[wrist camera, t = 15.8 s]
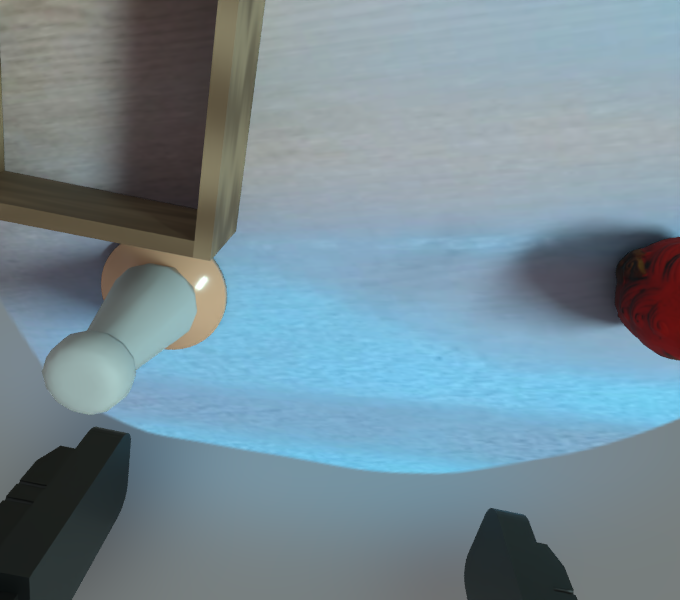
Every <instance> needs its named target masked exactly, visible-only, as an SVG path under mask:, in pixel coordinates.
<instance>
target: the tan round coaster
mask: <svg viewBox="0 0 680 600" xmlns="http://www.w3.org/2000/svg"><path fill="white" fill-rule="evenodd" d="M149 263H153V264H157V265H162V266H167V267H173V268H176V269H177V270H178V271H179V272H180V273H181V275H182V276H183V277H184V278H185V279H186V280H187V281H188V282H189V283H190V284H191V285H192V286H193V288H194V292H195V297H196V306H197V313H196V315H195V318H194V321H193V323H192V326H191V328H190V330H189V331H188V332H187V333H186V334H184V335H183V336H182V337H180V338H179V339H178V340H177V341H175V342H174V343H172V344H171V345H169V346H168V347H166V348H165V349H172V350H175V349H183V348H187V347H191V346H193V345H196V344H198V343H200V342H202V341H203V340H205V339H206V338H207V337H209V336H210V335H211V334H212V333H213V332H214V330H215V329H216V328H217V326H218V325H219V323H220V321H221V319H222V317H223V315H224V312H225V309H226V304H227V287H226V283H225V279H224V276H223V274H222V272H221V270H220V268H219V266H218V264H217V263H216V261H215V260H214V258H212V259H211V261H207V260H202V259H197V258H192V257H187V256H182V255H176V254H171V253H166V252H161V251H156V250H151V249H146V248H141V247H136V246H130V245H125V244H120V245H119V246H118V247H116V248H115V249H114V251H113V252H112V253H111V254H110V256H109V257H108V259H107V261H106V263H105V265H104V268H103V272H102V278H101V290H102V296H103V300H105V298H106V296H107V295H108V293H109V291H110V289H111V288H112V286H113V284H114V282H115V280H116V279H117V278H119V277H120V276H121V275H122V274H123V273H124V272H125V271H126V270H127V269H128V268H131V267H135V266H139V265H144V264H149Z"/></svg>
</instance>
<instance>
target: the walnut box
mask: <svg viewBox="0 0 680 600" xmlns="http://www.w3.org/2000/svg"><path fill="white" fill-rule="evenodd" d="M264 6H265V0H218V6H217V16H216V26H215V36H214V47H213V57H212V67H211V77H210V87H209V98H208V108H207V118H206V128H205V139H204V149H203V159H202V169H201V179H200V190H199V200H198V209H193V208H188V207H183V206H178V205H173V204H168V203H163V202H158V201H153V200H148V199H143V198H138V197H133V196H128V195H123V194H118V193H113V192H108V191H103V190H98V189H93V188H88V187H83V186H78V185H73V184H68V183H63V182H58V181H53V180H48V179H43V178H38V177H33V176H28V175H23V174H18V173H13V172H8V171H5V166H4V139H3V113H2V87H1V60H0V220H3V221H8V222H13V223H18V224H23V225H28V226H33V227H39V228H44V229H49V230H54V231H59V232H64V233H69V234H74V235H79V236H85V237H90V238H95V239H100V240H105V241H110V242H115V243H120V244H125V245H130V246H136V247H141V248H146V249H151V250H156V251H161V252H166V253H171V254H176V255H182V256H187V257H192V258H197V259H202V260H207V261H211V259H212V258H213V257H214V256H215V255H216V254H217V252H218V251H219V250H220V249H221V248H222V247H223V246H224V244H225V243H226V242H227V241H228V240H229V239H230V237H231V236H232V235H233V234H234V233H235V232H236V226H237V218H238V211H239V203H240V195H241V187H242V179H243V171H244V163H245V155H246V148H247V140H248V132H249V124H250V116H251V108H252V100H253V92H254V85H255V77H256V69H257V61H258V53H259V45H260V37H261V29H262V22H263V14H264Z"/></svg>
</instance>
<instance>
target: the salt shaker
mask: <svg viewBox="0 0 680 600" xmlns="http://www.w3.org/2000/svg"><path fill="white" fill-rule="evenodd" d="M196 313H197V306H196V297H195V292H194V288H193V286H192V285H191V284H190V283H189V282H188V281H187V280H186V279H185V278H184V277H183V276H182V275H181V273H180V272H179V271H178V270H177V269H176V268H173V267H167V266H162V265H157V264H153V263H149V264H144V265H139V266H135V267H131V268H128V269H127V270H126V271H125V272H124V273H123V274H122V275H121V276H120V277H119V278H117V279H116V280H115V282H114V284H113V286H112V288H111V289H110V291H109V293H108V295H107V296H106V298H105V300H104V302H103V303H102V305H101V307H100V309H99V310H98V312H97V314H96V316H95V317H94V319H93V321H92V323H91V325H90V326H89V328H88V330H87V331H83V332H78V333H74V334H70V335H69V336H67V337H66V338H64V339H63V340H62V341H61V342H60V343H59V344H58V345H56V346H55V347H54V348H53V349H52V350H51V351H50V353H49V354H48V356H47V357H46V360H45V364H44V367H43V370H42V374H43V377H44V381H45V385H46V388H47V389H48V391H49V392H50V393H51V394H52V396H53V397H54V399H55V400H56V401H57V402H58V403H60V404H62V405H63V406H65V407H67V408H68V409H70V410H72V411H75V412H79V413H84V414H89V415H93V414H97V413H102V412H107V411H108V410H110V409H111V408H112V407H114V406H115V405H116V404H117V403H119V402H120V401H121V400H123V399H124V398H125V397H126V396H127V394H128V393H129V391H130V390H131V387H132V384H133V381H134V379H135V376H136V370H137V369H138V368H139V367H141V366H142V365H143V364H145V363H146V362H148V361H149V360H150V359H152V358H153V357H154V356H156V355H157V354H158V353H160V352H161V351H162V350H164V349H165V348H166V347H168V346H169V345H171V344H172V343H174V342H175V341H177V340H178V339H179V338H180V337H182V336H183V335H184V334H186V333H187V332H188V331H189V330H190V328H191V326H192V323H193V321H194V318H195V315H196Z"/></svg>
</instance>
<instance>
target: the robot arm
mask: <svg viewBox="0 0 680 600" xmlns="http://www.w3.org/2000/svg"><path fill="white" fill-rule="evenodd" d="M130 443H131V438H130V434H129V433H124V432H119V431H114V430H109V429H104V428H99V427H93V428H92V429H91V430H90V431H89V432H88V433H87V434H86V435H85V437H84V438H83V439H82V441H81V442H80V443H79V445H78V446H77V447H76V448H75V449H74V448H69V447H64V446H59V447H58V448H56V449H55V450H53V451H52V452H50V453H48V454H46V455H45V456H43V457H41V458H40V459H38V460H37V461H36V462H35V463H34V464H33V466H32V467H31V468H30V469H29V470H28V471H27V472H26V474H25V475H24V476H23V477H22V478H21V480H20V482H19V484H16V485H15V486H14V488H13V489H12V490H11V491H10V492H9V494H8V495H7V496H6V499H5V501H2V502H1V503H0V600H72V598H73V596H74V595H75V593H76V591H77V589H78V587H79V586H80V584H81V582H82V580H83V578H84V577H85V575H86V573H87V571H88V570H89V568H90V566H91V564H92V562H93V561H94V559H95V557H96V555H97V553H98V552H99V550H100V548H101V546H102V544H103V543H104V541H105V539H106V537H107V535H108V534H109V532H110V530H111V528H112V526H113V525H114V523H115V521H116V519H117V517H118V515H119V513H120V511H121V509H122V506H123V503H124V500H125V496H126V492H127V486H128V472H129V458H130ZM464 582H465V589H466V594H467V599H468V600H577V597H576V595H574V594H573V588H572V585H571V583H570V580H569V578H568V575H567V573H566V570H565V568H564V566H563V565H562V564H561V562H560V561H559V560H558V558H557V557H556V556H555V554H554V553H553V552H552V551H551V549H550V548H549V547H548V545H546V544H542V543H537V542H536V539H535V537H534V534H533V531H532V529H531V526H530V523H529V521H528V519H527V517H526V516H525V515H523V514H518V513H512V512H508V511H503V510H498V509H493V508H490V509H489V510H488V511H487V512H486V514H485V516H484V519H483V521H482V523H481V525H480V528H479V530H478V532H477V535H476V537H475V540H474V542H473V544H472V546H471V549H470V551H469V553H468V556H467V559H466V563H465V572H464Z"/></svg>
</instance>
